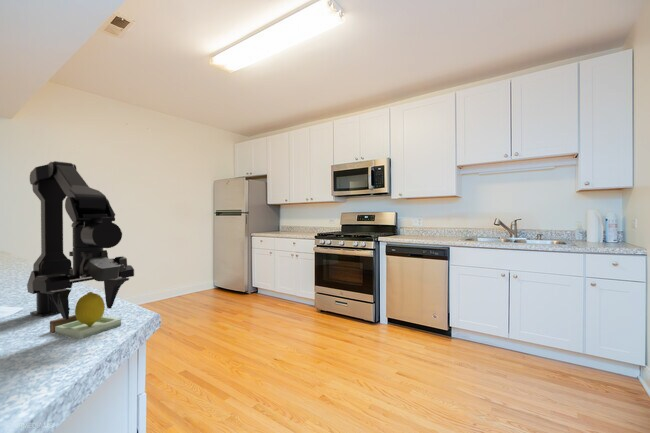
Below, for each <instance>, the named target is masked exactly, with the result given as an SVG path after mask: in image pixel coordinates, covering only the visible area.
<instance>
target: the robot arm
mask: <svg viewBox="0 0 650 433" xmlns="http://www.w3.org/2000/svg"><path fill="white" fill-rule="evenodd" d="M29 183H30V185H32V186H31V187H32V192H33V193H34V194H35V196H36V197H37V198H38V199H39V201H40V237H41V238H40V242H41V243H40V248H41V249H40V250H41V254H40V255H39V257H38V258H37V259H36V260H35V262H34V263H33V267H32V268H33V270H32V271H31V272H30V275H29V278H28V281H27V282H26V283H27V284H26V288H27V292H28V294H32V295H35V296H36V297H35V298H36V310H34V311H30V313H29V314H30V315H33V316H38V317H47V316H51V315H54V314H58V313H60V315H61V318H63V319H64V320H68V319H69V316H70V310H71V308H70V305H69V304H70V303H69V296H70V293H71V292H72V288H73V284H75V283H77V284H78V283H82V282H87V281H93V280H94V281H96V282H103V287H104V296H105V298H104V299H105V304H106V308H107V309H112V307H113V305H114V302H115V299H116V297H117V294H118V293H119V290H120V288H121V287H122V285H123V284H125V283H126V282H127V281H129V280H130V278H131V277H135V269H134V267H133V266H132V265H131V264H130V265H129V264H128V259H127V257H125V256H124V255H121V256H115V257H114V258H109V255H108V253H109V252H108V250H106V249H111V248H115V246H117V245H119V243H120V242H121V241H122V238H123V231H122V229H121V228H120V226H118V225H117V224H116V223H115V221H116V218H115V217H116V213H115V211H114V210H113V207H112V206H111V204H110V203H111V202H110V201H109V199H108V198H107V197H106V195H105V194H104V193H103V192H101V191H100V190H98V189H95V188H92V187H90V186H89V185H88V183H87V182H86V181H85V180H84V178H83V177H82V175H81V174H80V173H79V171H78V170H77V166H76V164H73V163H72V162H65V161H56V160H54V161H50V162H49V163H47V164H43V165H39V166H35V167H34V168H33V169H32V170H31V172H30V174H29ZM64 200H65V202H64ZM63 202H64V203H63ZM63 204H64V205H63ZM63 206H64V207H63ZM64 209H65V212H66V214H67V215H68V217H69V218H70V220H71V222H72V223H71V228H72V251H69V253H68V254H69V257H72V261H71V259H70V258H68V257H67V256H66V254H65V253H64Z"/></svg>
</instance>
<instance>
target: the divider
mask: <svg viewBox="0 0 650 433" xmlns="http://www.w3.org/2000/svg"><path fill="white" fill-rule="evenodd" d="M74 321H78V320H77V318H76V316H75V314H73V315H69V319H68V320H64V319H63V317H61V318H57V319H53V320H50V321H49V332H50V333H55V327H56V326H59V325H63V324H67V323H70V322H74Z"/></svg>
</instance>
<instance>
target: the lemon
mask: <svg viewBox="0 0 650 433" xmlns="http://www.w3.org/2000/svg"><path fill="white" fill-rule="evenodd" d="M75 305H76V306H75V309H74V315H75V316H76V318H77V320H78V321H79V322H80V323H82V324H86V325H87V326H92V325H93V324H94V323H95V322H97V321H98V320H100V319H101V317H102V316H104V313H105V310H106V307H105V302H104V299H103V297H102V296H101V295H99V294H98V293H94V292H93V291H89V292H87V293H86V294H84V295H82V296H81V297H80V298H79V299H78V300H77V302H76V304H75Z"/></svg>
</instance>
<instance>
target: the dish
mask: <svg viewBox="0 0 650 433" xmlns="http://www.w3.org/2000/svg"><path fill="white" fill-rule="evenodd" d="M121 326H122V318H117V317H111V316H105V315H103V316H102V317H101V319H100V320H98V321H97V322H95V323H94V324H93V325H92V326H87V325H86V324H82V323H80V322H79V321H74V322H70V323H67V324H63V325H59V326H56V327H55V332H54V333H55V334H57V335H61V336H66V337H70V338H75V339H78V340H79V339H83V338H86V337H89V336H90V337H91V336H93V335H95V334H100V333H101V332H104V331H108V330H111V329H114V328H118V327H121Z"/></svg>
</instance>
